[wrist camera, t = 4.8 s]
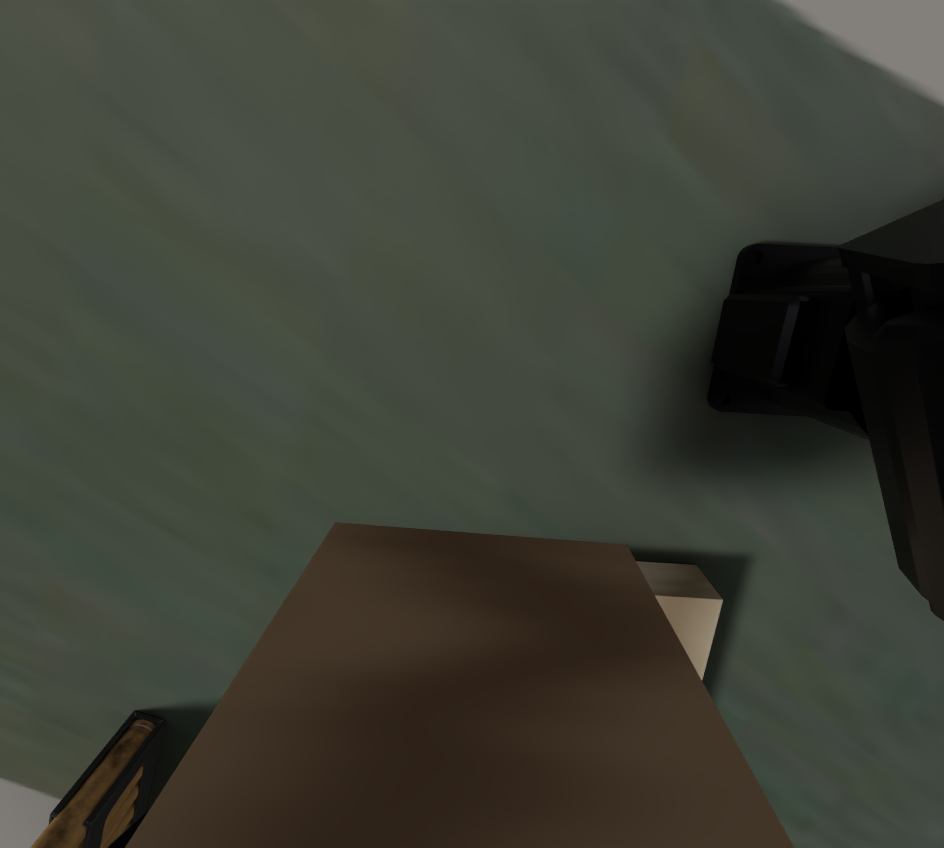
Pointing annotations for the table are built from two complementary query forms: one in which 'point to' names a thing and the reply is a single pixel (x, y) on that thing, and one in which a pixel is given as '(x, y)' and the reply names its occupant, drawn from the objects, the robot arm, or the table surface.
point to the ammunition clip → (108, 789)
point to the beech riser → (686, 606)
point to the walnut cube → (464, 711)
